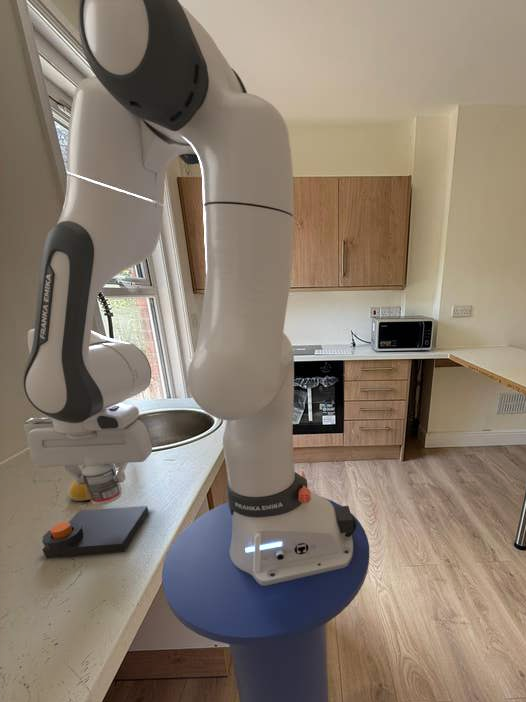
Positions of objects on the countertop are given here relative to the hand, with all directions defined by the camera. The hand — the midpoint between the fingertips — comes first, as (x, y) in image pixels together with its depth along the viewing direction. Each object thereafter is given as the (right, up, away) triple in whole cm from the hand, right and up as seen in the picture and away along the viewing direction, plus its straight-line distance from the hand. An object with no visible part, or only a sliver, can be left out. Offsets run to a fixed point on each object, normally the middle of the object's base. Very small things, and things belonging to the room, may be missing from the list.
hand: (102, 482), depth 68 cm
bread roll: (-13, -5, +16) cm, 21 cm away
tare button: (-6, -9, -3) cm, 11 cm away
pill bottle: (0, -3, +1) cm, 4 cm away
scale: (-2, -11, +2) cm, 11 cm away
